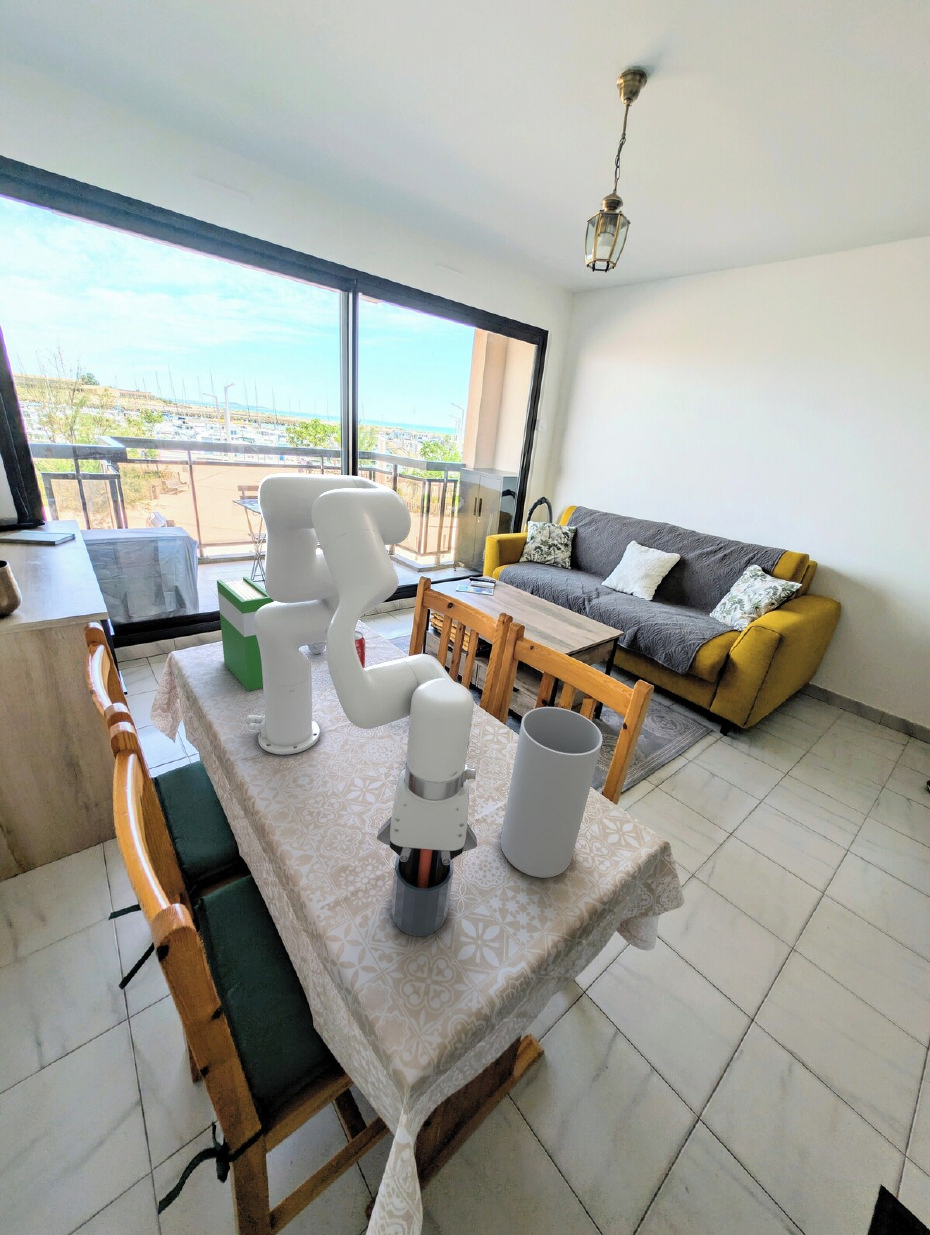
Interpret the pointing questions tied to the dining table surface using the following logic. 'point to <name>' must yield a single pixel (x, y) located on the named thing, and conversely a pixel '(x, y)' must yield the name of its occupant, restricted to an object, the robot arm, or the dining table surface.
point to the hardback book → (241, 629)
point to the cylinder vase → (549, 789)
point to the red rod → (424, 868)
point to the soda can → (360, 647)
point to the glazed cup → (420, 898)
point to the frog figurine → (317, 647)
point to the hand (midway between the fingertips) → (423, 874)
